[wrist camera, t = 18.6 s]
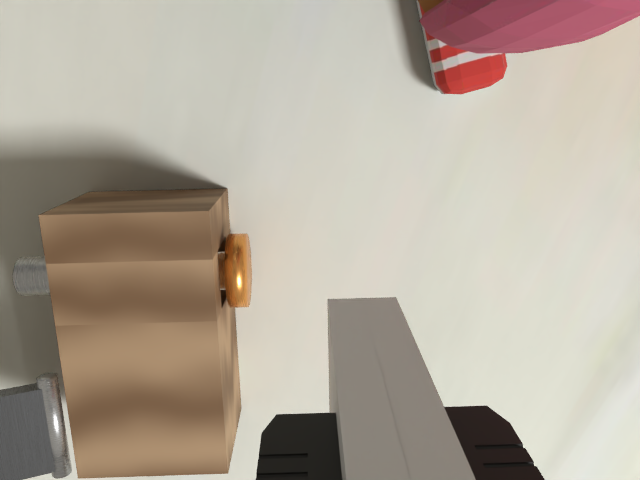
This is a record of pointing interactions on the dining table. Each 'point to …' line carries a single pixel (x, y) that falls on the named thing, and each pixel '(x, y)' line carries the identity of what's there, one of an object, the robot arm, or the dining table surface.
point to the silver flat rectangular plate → (33, 431)
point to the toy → (506, 33)
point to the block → (144, 330)
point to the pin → (231, 262)
